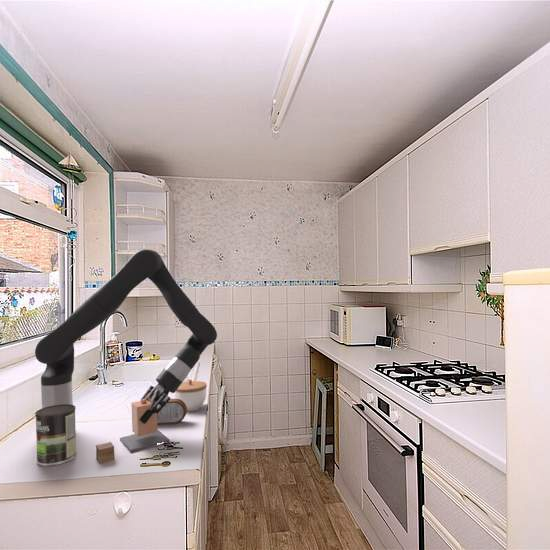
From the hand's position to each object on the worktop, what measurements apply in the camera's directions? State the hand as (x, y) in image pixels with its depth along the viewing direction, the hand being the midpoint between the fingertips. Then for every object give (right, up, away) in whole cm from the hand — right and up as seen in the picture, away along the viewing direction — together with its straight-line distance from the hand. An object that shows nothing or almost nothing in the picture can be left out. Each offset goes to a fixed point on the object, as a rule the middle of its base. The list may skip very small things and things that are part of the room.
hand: (138, 419), depth 129 cm
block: (-6, -8, -11) cm, 15 cm away
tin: (+4, -8, +17) cm, 19 cm away
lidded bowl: (+10, -7, +33) cm, 35 cm away
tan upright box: (+2, -4, +1) cm, 5 cm away
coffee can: (-20, -8, -10) cm, 24 cm away
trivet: (+2, -7, +1) cm, 8 cm away
